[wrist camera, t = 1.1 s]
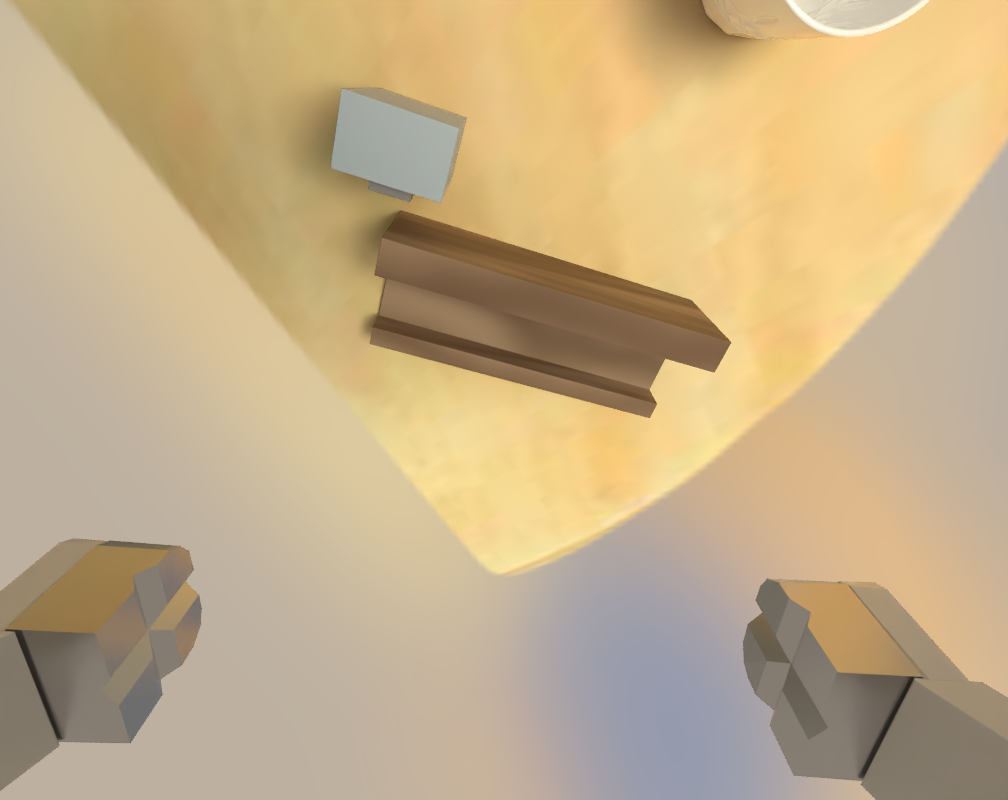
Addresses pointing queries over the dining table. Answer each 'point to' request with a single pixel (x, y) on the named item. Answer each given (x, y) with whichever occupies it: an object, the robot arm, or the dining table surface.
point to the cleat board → (533, 317)
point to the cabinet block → (396, 143)
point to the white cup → (808, 17)
